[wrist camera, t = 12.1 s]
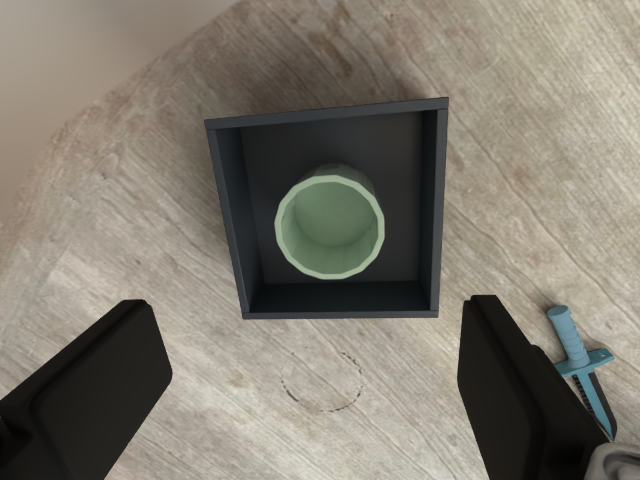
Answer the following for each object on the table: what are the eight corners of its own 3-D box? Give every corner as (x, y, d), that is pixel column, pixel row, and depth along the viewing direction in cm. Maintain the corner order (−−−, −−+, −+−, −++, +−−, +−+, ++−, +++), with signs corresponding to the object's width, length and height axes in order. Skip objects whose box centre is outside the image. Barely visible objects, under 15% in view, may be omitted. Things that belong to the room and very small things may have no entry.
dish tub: (233, 118, 25) (203, 119, 20) (430, 100, 23) (449, 96, 18) (261, 286, 30) (242, 319, 25) (424, 282, 28) (438, 318, 23)
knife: (648, 439, 30) (590, 455, 32) (637, 427, 31) (582, 443, 33) (592, 302, 25) (526, 329, 26) (582, 294, 26) (519, 319, 28)
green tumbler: (286, 165, 25) (267, 179, 20) (378, 159, 24) (383, 171, 19) (296, 249, 27) (282, 280, 22) (380, 246, 26) (385, 278, 21)
